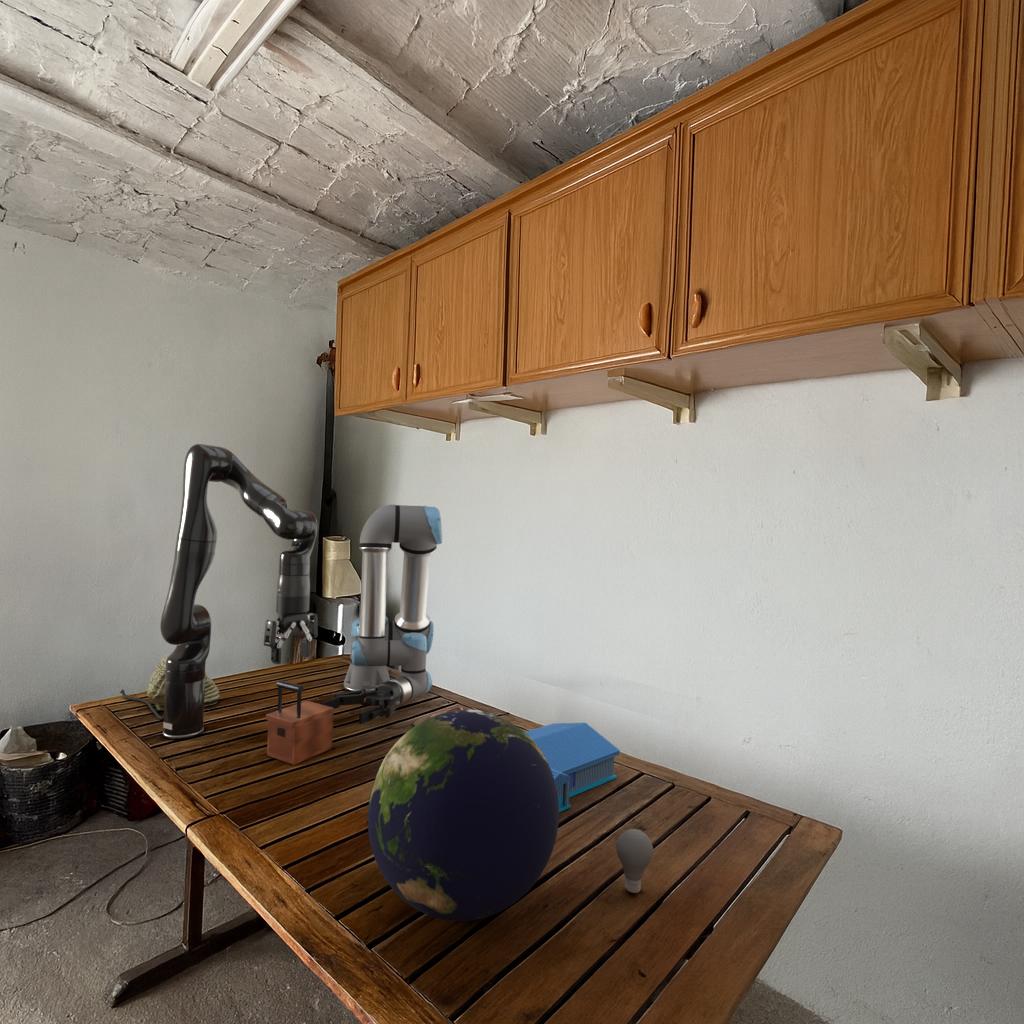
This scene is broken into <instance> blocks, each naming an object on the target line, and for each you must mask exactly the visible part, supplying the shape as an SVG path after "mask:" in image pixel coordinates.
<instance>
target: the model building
mask: <svg viewBox="0 0 1024 1024" xmlns="http://www.w3.org/2000/svg"><path fill="white" fill-rule="evenodd" d="M524 732H525V733H526V734H527V735H528V736H529V737H530V738H531V739H532V740H533V741H534V742H535V743H536V744H537V746H538V747H539V748H540V750H541V751H542V753H543V754H544V756H545V758H546V760H547V761H548V764H549V766H550V769H551V771H552V774H553V777H554V780H555V784H556V788H557V793H558V801H559V813H562V812H563V811H566V810H569V809H571V808H572V805H571V804H570V798H572V797H575V796H577V795H580V794H582V793H585V792H587V791H589V790H591V789H594V788H597V787H599V786H601V785H603V784H605V783H609V782H610V781H613V780H615V779H617V778H618V776H617V775H616V774H614V771H615V770H614V768H615V767H614V765H615V757H617V756H620V754H621V750H620V749H619V748H618V747H617V746H616V745H614V744H613V743H612V742H611V741H610V740H607V738H605V737H604V736H603V735H601V734H600V733H599V732H598V731H597V730H596V729H594V728H593V727H592V726H591V725H589V724H588V723H587V722H560V723H559V722H558V723H555V722H554V723H550V724H546V725H544V726H543V725H542V726H540V727H537V728H533V729H530V730H526V731H524Z"/></svg>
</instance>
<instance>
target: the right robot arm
mask: <svg viewBox="0 0 1024 1024" xmlns="http://www.w3.org/2000/svg"><path fill="white" fill-rule="evenodd" d="M442 528H443V526H442V518H441V512H440V509H439V508H437V507H436V506H428V505H403V504H401V505H400V504H386V505H383V506H380V507H379V508H377V509H376V510H375V511H374V512H373V513H372V514H371V515H370V516H369V517H368V518H367V520H366V522H365V523H364V525H363V528H362V530H361V533H360V537H359V546H358V547H359V550H360V551H361V553H362V559H361V560H362V561H361V587H360V611H359V618H357V619H356V620H355V621H353V622H352V625H351V632H350V639H351V640H350V654H349V656H350V658H349V659H350V660H349V667H348V669H347V672H346V675H345V677H344V680H343V690H344V691H345V692H339V693H333V694H332V698H330V699H328V700H325V701H322V702H320V703H319V704H321V705H325V706H329V707H332V708H334V710H335V709H339V708H340V706H353V705H360V706H370V707H371V708H369V709H365V710H363V711H361V712H358V725H362V724H365V723H367V722H369V721H372V720H375V719H377V718H383V717H385V718H386V719H387V718H388V719H389V718H391V717H392V716H393V714H394V712H395V711H396V709H398V708H400V705H401V704H405V703H407V702H408V701H411V700H414V699H416V698H420V697H422V696H423V695H425V694H427V693H428V692H429V691H430V690H431V689H432V686H433V680H432V676H431V673H429V671H428V670H426V668H427V667H426V666H427V655H428V654H429V653H430V651H431V649H432V646H433V642H434V641H433V640H434V634H435V633H434V632H435V631H434V630H435V627H434V625H435V624H434V622H433V621H432V620H431V617H430V616H429V615H428V614H427V606H428V605H427V604H428V593H429V582H430V571H431V560H432V559H431V558H432V554H433V553H435V552H436V550H437V546H438V545H441V544H442V543H443V529H442ZM394 543H396V544H399V546H398V547H399V549H400V550H401V551H402V552H403V561H402V575H401V590H400V602H399V603H400V605H399V612H398V613H396V615H395V617H394V620H389V618H388V616H387V592H388V590H387V589H388V588H387V587H388V562H389V552H391V551H392V547H393V544H394ZM399 666H400V676H398V677H397V676H396V677H394V678H392V679H391V678H390V673H392V669H389V670H388V667H399ZM373 706H374V707H373Z"/></svg>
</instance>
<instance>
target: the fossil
mask: <svg viewBox="0 0 1024 1024" xmlns="http://www.w3.org/2000/svg"><path fill="white" fill-rule="evenodd" d="M169 655H170V654H165V655H164V656H163V657H162V658H161V659H160V660H159V662H158V663H157V666H156V667H155V669H154V670H153V672H152V675H151V677H150V680H149V684H148V688H147V697H148V699H149V700H150V701H152V703H153V704H154V706H155V710H156V711H158V712H159V711H162V712H163V711H164V705H165V674H166V659H167V658H168V656H169ZM220 698H221V696H220V690H219V688H218V686H217V685H216V683H215V682H214V681H213V679H212V678H211V677H209V675H208V674H207V672H206V671H205V693H204V707H207V706H213V705H215V704H217V703H218V701H219V699H220Z"/></svg>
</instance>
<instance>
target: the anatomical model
mask: <svg viewBox="0 0 1024 1024" xmlns="http://www.w3.org/2000/svg"><path fill="white" fill-rule="evenodd" d="M457 710H464V708H463V707H462V706H455V707H451V708H447V709H444V710H441V711H439V712H435V713H433V714H429V715H426V716H422V717H420V718H418V719H416V720H415V721H414V722H413V723H412V725H413V726H414V727H415V726H416V725H418V724H419V723H421V722H423V721H425V720H427V719H429V718H431V717H433V716H436V715H439V714H442V713H445V712H450V711H457Z"/></svg>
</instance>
